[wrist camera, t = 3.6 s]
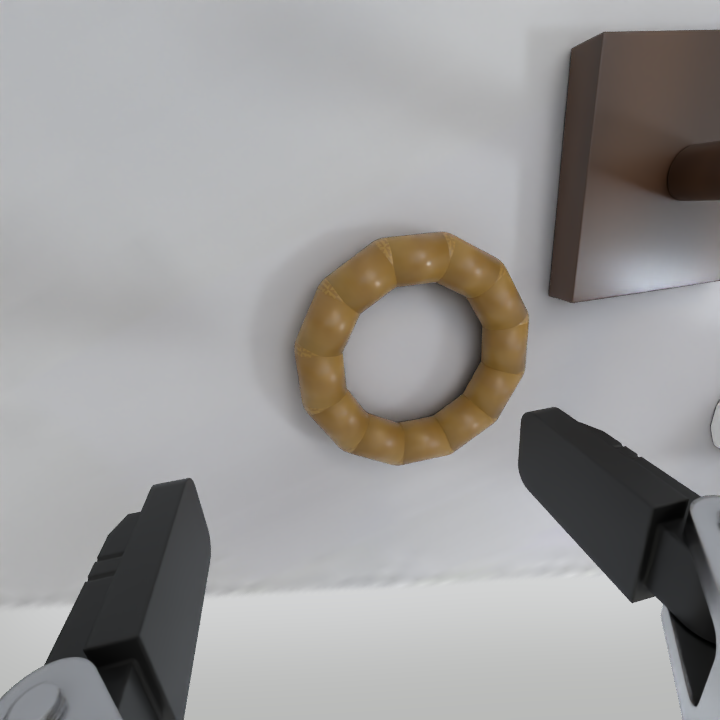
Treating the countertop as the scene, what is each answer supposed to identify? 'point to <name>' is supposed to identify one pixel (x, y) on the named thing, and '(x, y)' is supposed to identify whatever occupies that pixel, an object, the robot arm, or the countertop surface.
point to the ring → (365, 287)
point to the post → (639, 166)
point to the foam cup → (716, 427)
